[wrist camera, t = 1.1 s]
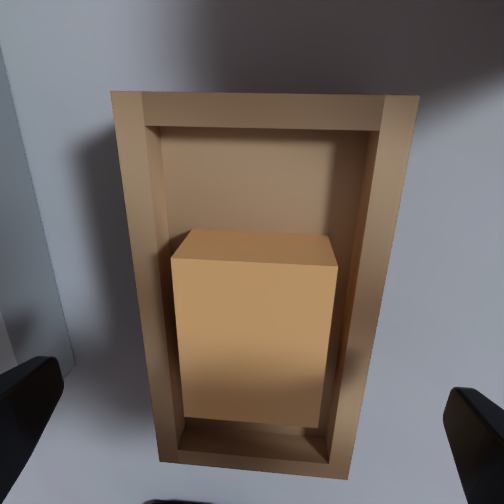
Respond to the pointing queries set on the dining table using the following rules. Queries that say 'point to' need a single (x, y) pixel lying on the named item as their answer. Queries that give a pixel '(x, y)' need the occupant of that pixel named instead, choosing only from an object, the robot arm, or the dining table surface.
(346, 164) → the shallow cardboard tray
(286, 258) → the block
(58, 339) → the dock
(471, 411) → the robot arm
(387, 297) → the dining table surface
